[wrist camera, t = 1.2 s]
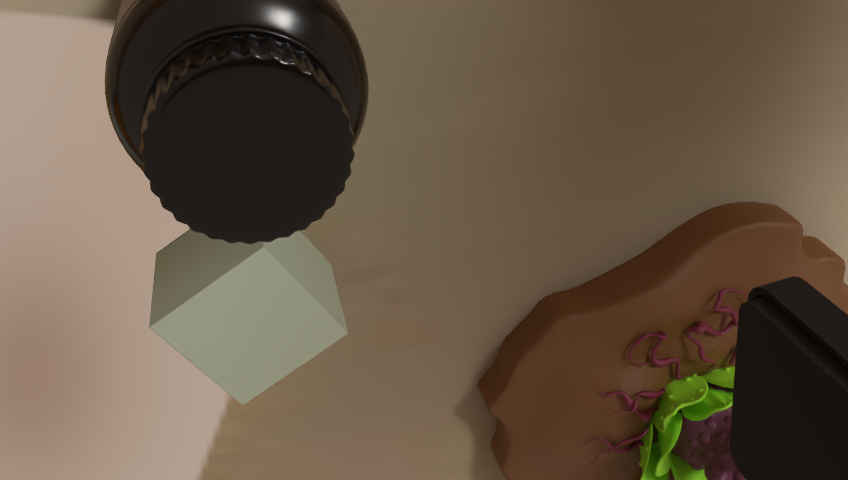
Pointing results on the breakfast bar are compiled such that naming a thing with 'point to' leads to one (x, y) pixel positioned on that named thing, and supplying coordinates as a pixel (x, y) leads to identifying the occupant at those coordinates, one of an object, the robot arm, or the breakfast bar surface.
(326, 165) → the supplement bottle
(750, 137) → the breakfast bar surface
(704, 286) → the plant
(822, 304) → the robot arm
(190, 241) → the sage cube
